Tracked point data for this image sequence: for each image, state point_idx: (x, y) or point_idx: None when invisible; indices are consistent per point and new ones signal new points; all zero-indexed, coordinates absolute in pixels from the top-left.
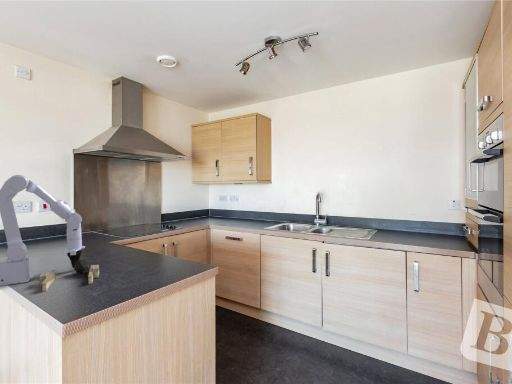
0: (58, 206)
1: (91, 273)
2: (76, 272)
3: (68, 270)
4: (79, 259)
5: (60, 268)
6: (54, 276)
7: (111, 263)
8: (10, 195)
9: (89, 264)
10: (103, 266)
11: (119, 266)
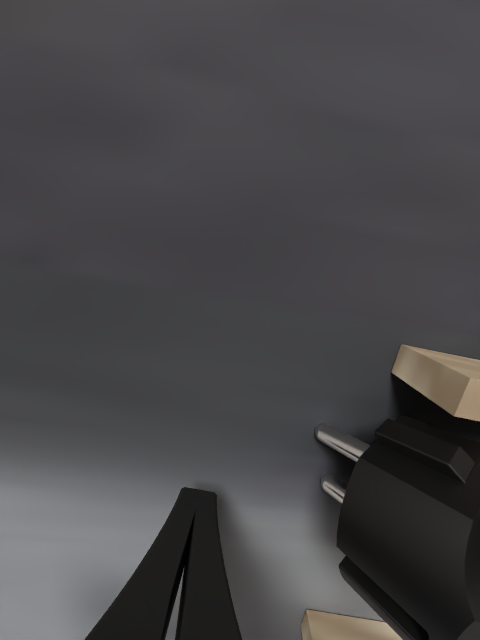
0: None
1: None
2: (331, 493)
3: (161, 524)
4: (152, 576)
5: (34, 564)
6: (348, 636)
7: (174, 85)
8: None
9: (457, 446)
10: (261, 219)
11: (447, 16)
